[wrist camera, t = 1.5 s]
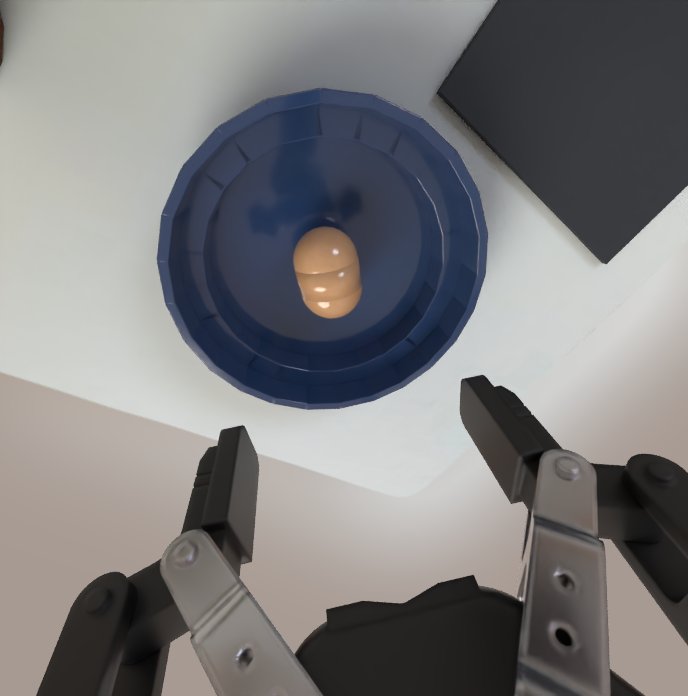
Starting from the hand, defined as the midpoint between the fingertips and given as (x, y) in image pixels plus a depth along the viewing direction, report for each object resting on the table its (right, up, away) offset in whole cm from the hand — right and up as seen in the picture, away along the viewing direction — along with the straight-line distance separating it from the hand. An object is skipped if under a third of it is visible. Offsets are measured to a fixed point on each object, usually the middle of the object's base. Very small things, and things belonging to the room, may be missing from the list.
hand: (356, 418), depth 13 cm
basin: (-2, +9, +13) cm, 16 cm away
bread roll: (-2, +9, +13) cm, 16 cm away
